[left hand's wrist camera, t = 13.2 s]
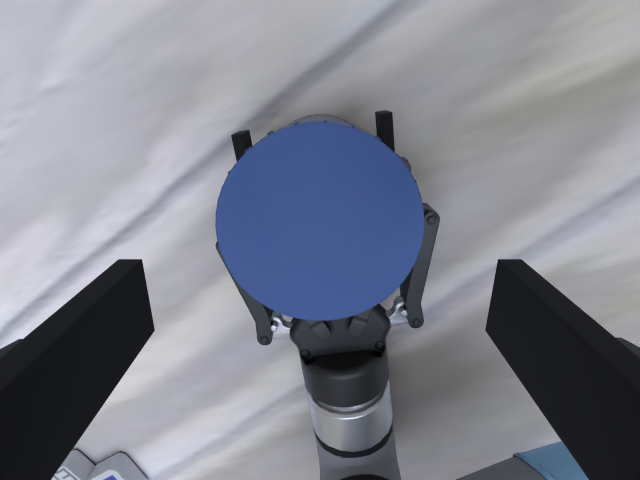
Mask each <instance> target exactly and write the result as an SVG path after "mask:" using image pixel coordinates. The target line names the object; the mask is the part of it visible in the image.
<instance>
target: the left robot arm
mask: <svg viewBox="0 0 640 480" xmlns="http://www.w3.org/2000/svg"><path fill="white" fill-rule="evenodd" d="M154 331H155V330H154V324H153V318H152V313H151V307H150V302H149V296H148V291H147V285H146V280H145V274H144V268H143V263H142V259H119V260H117V261H116V262H115V263H114V264H113V265H111V266H110V267H109V268H108V269H107V270H105V271H104V272H103V273H102V274H101V275H99V276H98V277H97V278H96V279H95V280H93V281H92V282H91V283H90V284H89V285H87V286H86V287H85V288H84V289H83V290H81V291H80V292H79V293H78V294H77V295H75V296H74V297H73V298H72V299H71V300H69V301H68V302H67V303H66V304H65V305H63V306H62V307H61V308H60V309H59V310H57V311H56V312H55V313H54V314H53V315H51V316H50V317H49V318H48V319H47V320H45V321H44V322H43V323H42V324H41V325H39V326H38V327H37V328H36V329H35V330H33V331H32V332H31V333H30V334H29V335H27V336H26V337H25V338H24V339H18V340H17V341H15V342H13V343H11V344H9V345H7V346H5V347H3V348H2V349H0V480H51V479H52V478H53V476H54V475H55V473H56V472H57V471H58V469H59V468H60V466H61V465H62V463H63V462H64V461H65V459H66V458H67V456H68V455H69V453H70V452H71V450H72V449H73V448H74V446H75V445H76V443H77V442H78V440H79V439H80V437H81V436H82V435H83V433H84V432H85V430H86V429H87V427H88V426H89V424H90V423H91V422H92V420H93V419H94V417H95V416H96V414H97V413H98V411H99V410H100V409H101V407H102V406H103V404H104V403H105V401H106V400H107V398H108V397H109V396H110V394H111V393H112V391H113V390H114V388H115V387H116V385H117V384H118V383H119V381H120V380H121V378H122V377H123V375H124V374H125V372H126V371H127V370H128V368H129V367H130V365H131V364H132V362H133V361H134V359H135V358H136V357H137V355H138V354H139V352H140V351H141V349H142V348H143V346H144V345H145V344H146V342H147V341H148V339H149V338H150V336H151V335H152V333H153V332H154ZM485 331H486V332H487V333H488V335H489V336H490V338H491V339H492V341H493V342H494V344H495V345H496V346H497V348H498V349H499V351H500V352H501V354H502V355H503V357H504V358H505V359H506V361H507V362H508V364H509V365H510V367H511V368H512V370H513V371H514V372H515V374H516V375H517V377H518V378H519V380H520V381H521V383H522V384H523V385H524V387H525V388H526V390H527V391H528V393H529V394H530V396H531V397H532V398H533V400H534V401H535V403H536V404H537V406H538V407H539V409H540V410H541V411H542V413H543V414H544V416H545V417H546V419H547V420H548V422H549V423H550V424H551V426H552V427H553V429H554V430H555V432H556V433H557V435H558V436H559V437H560V439H561V440H562V442H563V443H564V445H565V446H566V448H567V449H568V450H569V452H570V453H571V455H572V456H573V458H574V459H575V461H576V462H577V463H578V465H579V466H580V468H581V469H582V471H583V472H584V473H585V475H586V476H587V478H588V479H589V480H640V347H638V346H636V345H634V344H632V343H630V342H628V341H626V340H625V339H623V338H615V337H614V336H613V335H611V334H610V333H609V332H608V331H607V330H605V329H604V328H603V327H602V326H601V325H599V324H598V323H597V322H596V321H595V320H593V319H592V318H591V317H590V316H589V315H587V314H586V313H585V312H584V311H583V310H581V309H580V308H579V307H578V306H577V305H575V304H574V303H573V302H572V301H571V300H569V299H568V298H567V297H566V296H565V295H563V294H562V293H561V292H560V291H559V290H557V289H556V288H555V287H554V286H553V285H551V284H550V283H549V282H548V281H547V280H545V279H544V278H543V277H542V276H541V275H539V274H538V273H537V272H536V271H535V270H533V269H532V268H531V267H530V266H529V265H527V264H526V263H525V262H524V261H523V260H521V259H498V263H497V268H496V274H495V280H494V285H493V291H492V296H491V302H490V307H489V313H488V318H487V324H486V330H485Z"/></svg>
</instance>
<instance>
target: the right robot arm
mask: <svg viewBox="0 0 640 480" xmlns="http://www.w3.org/2000/svg"><path fill="white" fill-rule="evenodd" d="M375 116H376V128H377V136H378V137H379V138H380V139H382V140H381V142H382V143H384V144H385V145H386V146H387V147H389V148H390V149H391V150H392V151H393V152H394V153H395V149H394V134H393V118H392V112H389V111H386V110H385V111H378V112H375ZM231 136H232V141H233V146H234V150H235V155H236V160H237V161H238V160H239V159H240V158H241V157H242V156H243V155H244V154H245V152H244V151H245V150H246V149H248V148H249V147H250V146H251V147H252V142H251V137H250V131H249V130H245V131H239V132H237V133H235V134H233V135H231ZM401 158H402V161H403V163H404V164H405V165H406V167H407V168H408V170H409V171H410V172H411V166H410V164H409V162H408V160H407V159H405V158H404V157H401ZM422 204H423V209H424V235H423V240H422V245H421V249H420V252H419V254H418V257H417V260H416V262H415V264H414V266H413V267H412V269H411V271H410V273H409V274H408V276H407V277H406V278H405V280H404V281H403V283H402V284H401V285H400V294H401V296H397V297H396V299H395V300H394V302H393V307H392V308H391V309H390V310H388V311H386V310H385V309H384V308H383V307H382V306H381V305H380V304H377V305H376V306H374V307H372V308H370V309H368V310H366V311H364V312H362V313H359V314H356V315H354V316H350V317H346V318H342V319H336V320H328V321H313V320H303V319H298V318H293V319H292V321H291V322H287V321H285V320H284V319H283V316H282V314H281V313H278V312H276V311H274V310H272V309H270V308H268V307H266V306H265V305H263V304H261V303H260V302H258V301H257V300H255V299H254V298H253V297H252V296H250V295H249V294H248V293H247V292H246V291H245V290H244V289H243V288H242V287H241V286H240V285H239V284H238V282H237V281H236V280H235V278H234V277H233V276H232V274H231V273H230V271H229V269H228V267H227V266H226V264H225V262H224V259H223V257H222V254H221V252H220V248H219V244H218V241H217V243H216V249H217V251H218V253H219V255H220V256H221V258H222V260H223V262H224V264H225V266H226V268H227V270H228V271H229V273H230V275H231V277H232V279H233V281H234V283H235V285H236V286H237V288H238V290H239V292H240V294H241V296H242V298H243V299H244V301H245V303H246V305H247V307H248V309H249V311H250V313H251V314H252V316H253V318H254V320H255V322H256V331H257V340H258V342H259V343H260V344H262V345H268V344H270V343H271V342H272V338H291V340H292V341H293V342H294V343H295V344H296V346H297V347H298V350H299V354H300V359H301V364H302V370H303V375H304V380H305V385H306V388H307V397H308V402H309V407H310V412H311V416H312V421H313V427H314V431H315V435H316V441H317V448H318V455H319V463H320V480H401V476H400V472H399V467H398V462H397V456H396V448H395V440H394V432H393V419H392V417H393V413H392V403H391V393H390V383H389V379H388V378H389V371H388V360H387V348H386V336H387V333H388V332H389V330H390V327H391V326H395V325H400V324H405V323H409V325H410V326H411V327H412V328H419V327H421V326H422V325H423V323H424V319H423V313H422V308H421V299H422V295H423V290H424V286H425V282H426V277H427V273H428V269H429V264H430V260H431V256H432V251H433V247H434V243H435V238H436V234H437V230H438V225H439V221H440V217H439V215H438V214H437V213H436V212H435V211H434V210H433V209H432V208H431V207H430V206H429V205H428V204H426V203H422ZM457 480H589V479H588V478H587V476H586V475H585V473H584V472H583V471H582V469H581V468H580V466H579V465H578V463H577V462H576V461H575V459H574V458H573V456H572V455H571V453H570V452H569V450H568V449H567V448H566V446H565V445H564V443H563V442H562V441H561V442H558V443H554V444H551V445H547V446H544V447H540V448H537V449H534V450H530V451H527V452H523V453H515V454H513V457H512V458H509V459H507V460H504V461H502V462H499V463H497V464H494V465H492V466H489V467H487V468H484V469H482V470H479V471H477V472H474V473H472V474H469V475H467V476H464V477H462V478H459V479H457Z"/></svg>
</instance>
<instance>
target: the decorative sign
mask: <svg viewBox="0 0 640 480" xmlns="http://www.w3.org/2000/svg"><path fill="white" fill-rule="evenodd" d="M51 480H148V479H147V478H146V477H145V475H144V474H143V473H142V472H141V471H140V470H139V469H138V467H137V466H136V465H135V464H134V463H133V462H132V461H131V459H130V458H129V457H128V456H127V455H126V454H124V453H117V454H115V455H113V456H111V457H109V458H107V459H106V460H104V461H102V462H100V463H98V464H97V465H96V466H95V465H94V464H93V463H92V462H91V461H89V460H88V459H87V458H86V457H85V456H84V455H83V454H82V453H80V452H79V451H78V450H72V451H71V452H70V453H69V455H68V456H67V458H66V459H65V461H64V462H63V463H62V465H61V466H60V468H59V469H58V471H57V472H56V473H55V475H54V476H53V478H52V479H51Z"/></svg>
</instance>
